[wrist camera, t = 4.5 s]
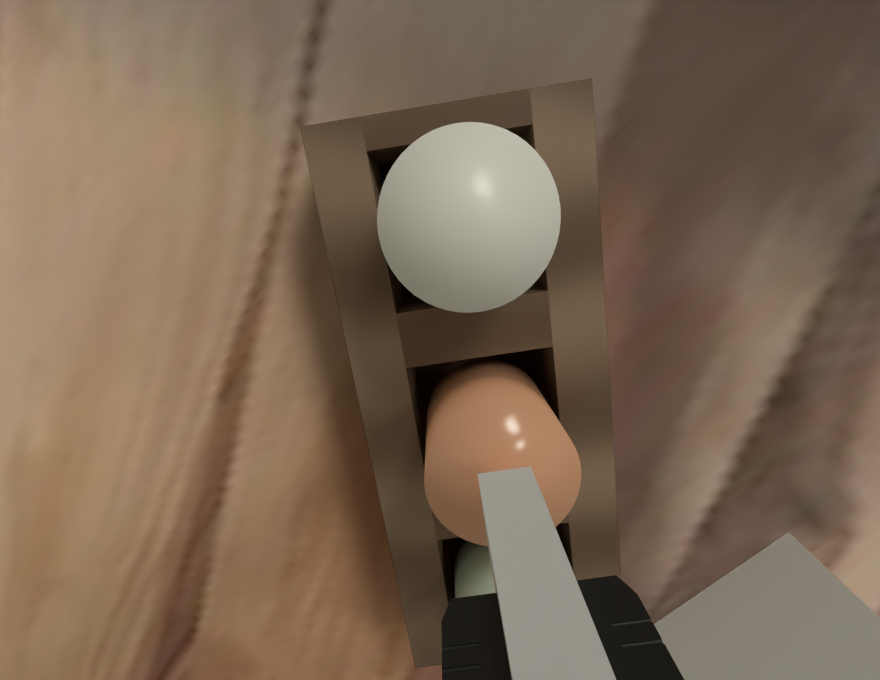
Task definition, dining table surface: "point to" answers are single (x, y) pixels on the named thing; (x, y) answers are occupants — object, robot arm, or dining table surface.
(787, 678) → the milk
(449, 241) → the off-white button
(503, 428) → the peach rounded cylinder
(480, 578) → the pale green domed cylinder
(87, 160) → the dining table surface
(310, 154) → the wooden compartment tray
